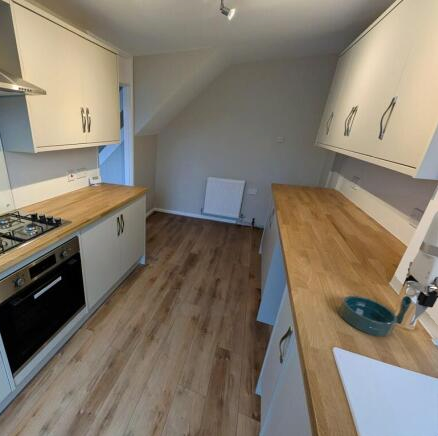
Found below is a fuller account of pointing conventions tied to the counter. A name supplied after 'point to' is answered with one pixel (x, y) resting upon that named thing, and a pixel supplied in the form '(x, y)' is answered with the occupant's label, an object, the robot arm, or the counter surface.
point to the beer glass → (409, 305)
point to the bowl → (368, 315)
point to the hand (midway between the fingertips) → (416, 296)
